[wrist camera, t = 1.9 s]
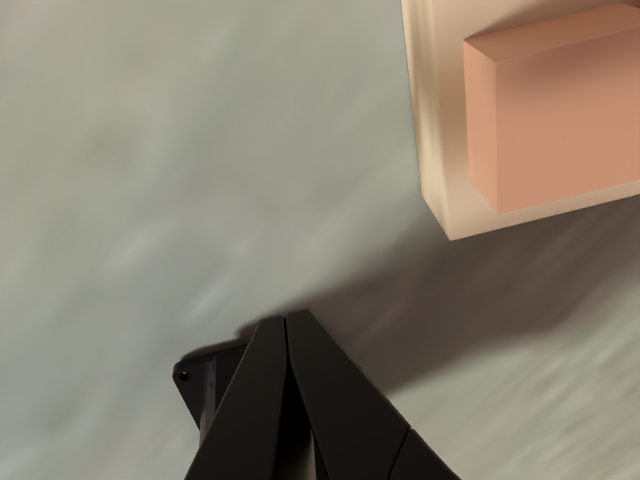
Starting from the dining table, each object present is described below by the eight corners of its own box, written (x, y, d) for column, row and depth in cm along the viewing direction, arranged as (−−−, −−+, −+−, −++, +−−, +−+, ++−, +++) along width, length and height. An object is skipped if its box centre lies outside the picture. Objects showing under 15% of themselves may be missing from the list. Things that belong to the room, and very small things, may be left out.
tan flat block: (678, 131, 20) (743, 168, 17) (421, 194, 20) (450, 240, 17) (727, -136, 15) (826, -138, 13) (395, -55, 15) (429, -42, 13)
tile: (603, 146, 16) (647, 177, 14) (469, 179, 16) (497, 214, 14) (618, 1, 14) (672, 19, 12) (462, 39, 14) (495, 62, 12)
